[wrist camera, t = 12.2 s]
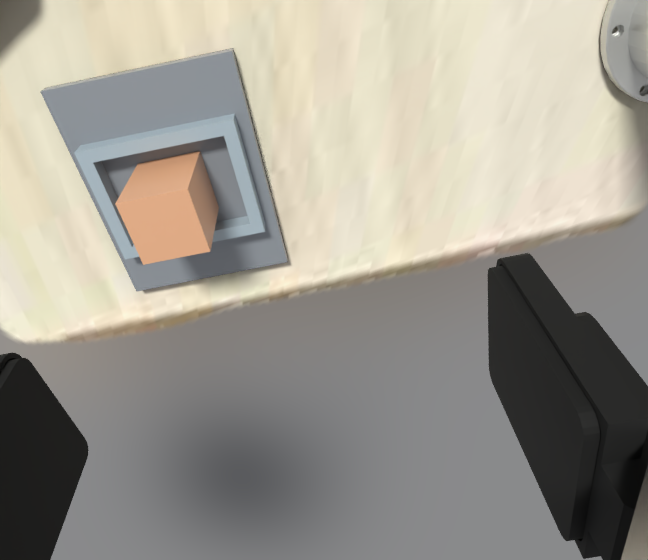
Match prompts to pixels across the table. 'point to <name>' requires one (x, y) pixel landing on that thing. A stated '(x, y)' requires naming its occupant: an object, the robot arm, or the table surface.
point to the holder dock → (171, 140)
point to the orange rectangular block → (169, 208)
